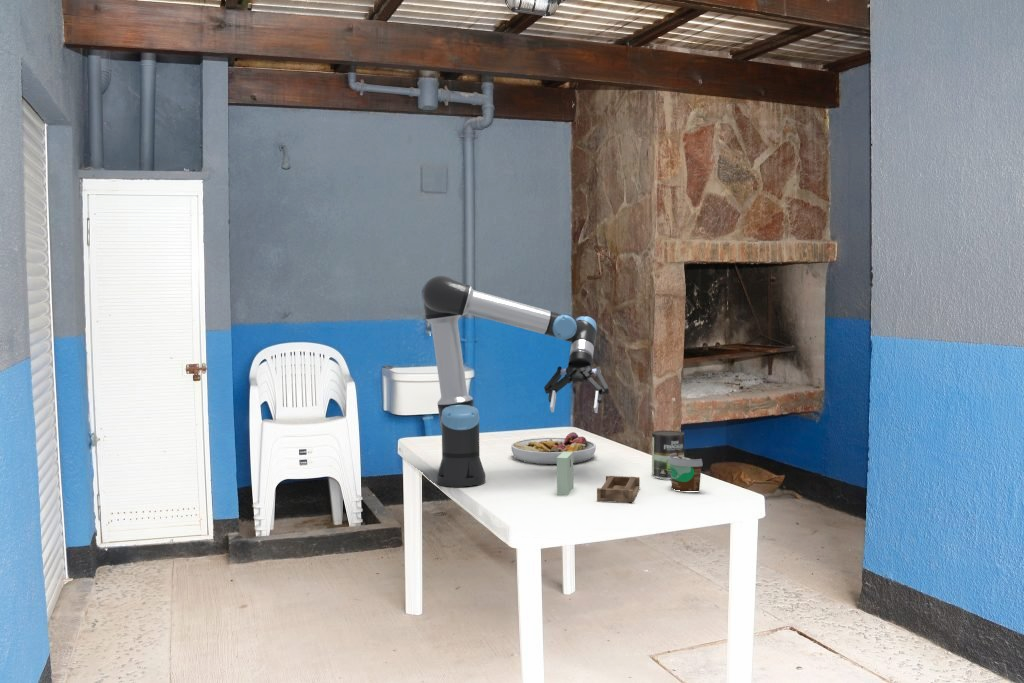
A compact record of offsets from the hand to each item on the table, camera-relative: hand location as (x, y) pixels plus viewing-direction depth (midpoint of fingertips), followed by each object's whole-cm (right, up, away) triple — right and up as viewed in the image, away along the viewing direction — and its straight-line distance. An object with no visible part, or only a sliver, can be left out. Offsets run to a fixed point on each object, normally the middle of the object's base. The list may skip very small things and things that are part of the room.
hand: (573, 410), depth 261 cm
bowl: (-4, -21, +43) cm, 48 cm away
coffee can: (+31, -22, +10) cm, 39 cm away
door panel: (-3, -23, -9) cm, 25 cm away
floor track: (+12, -23, -14) cm, 30 cm away
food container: (+31, -23, -9) cm, 40 cm away
